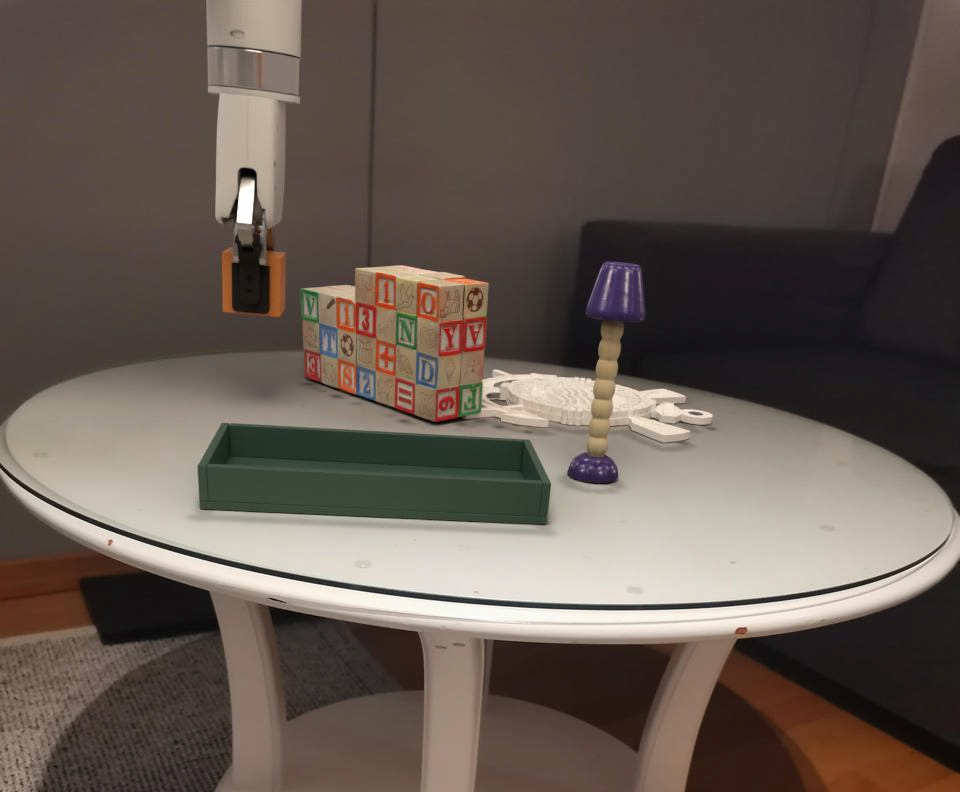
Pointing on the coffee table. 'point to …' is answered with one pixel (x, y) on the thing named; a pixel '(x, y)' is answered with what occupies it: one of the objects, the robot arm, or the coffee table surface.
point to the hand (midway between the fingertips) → (254, 305)
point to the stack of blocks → (400, 339)
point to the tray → (373, 474)
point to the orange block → (276, 282)
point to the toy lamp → (608, 361)
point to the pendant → (584, 405)
